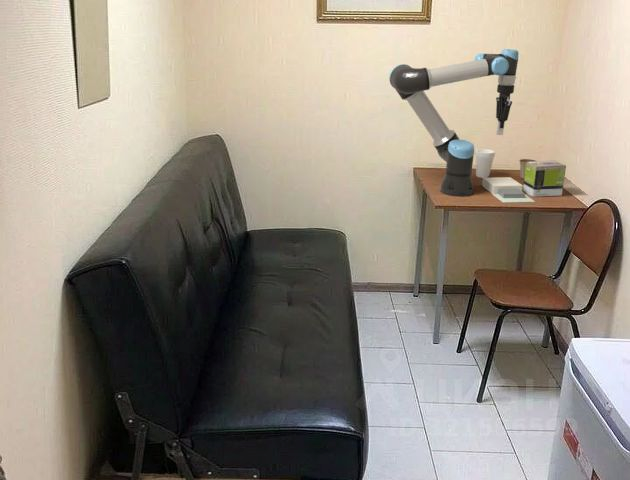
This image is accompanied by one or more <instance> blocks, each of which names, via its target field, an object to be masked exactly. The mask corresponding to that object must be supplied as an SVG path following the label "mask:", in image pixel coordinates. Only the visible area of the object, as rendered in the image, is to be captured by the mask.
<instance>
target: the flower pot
mask: <svg viewBox="0 0 630 480" xmlns="http://www.w3.org/2000/svg"><path fill="white" fill-rule="evenodd" d="M530 161H537V160H535V159H531V158H520V159H519V177H520V178H522V179H523V180H524V178H525V170H526V163H527V162H530Z"/></svg>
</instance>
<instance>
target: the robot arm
mask: <svg viewBox="0 0 630 480" xmlns="http://www.w3.org/2000/svg"><path fill="white" fill-rule="evenodd" d="M518 64H519V51H518V50H517V49H509V48H508V49H507V48H504V49H502V50H501V53H477V54H476V55H475V56H474V60H472V61H466V62H462V63H461V62H460V63H456V64H451V65H445V66H441V67H435V68H430V69H429V68H428V67H421V68H415V67H411V66H410V65H408V64H405V63H404V64H397V65H396V66H395V67H393V68H392V69H391V71H390V73H389V78H388V79H389V83H390V85H391V87H392V88H393V89H394V90H395V91H396V92H397V94H398V96H399V97H400V99H402V100H403V101H407V103H408V104H409V106H410V107H411V108H412V110H413V111H414V113H415V114H416V116H417V118H418V119H419V120H420V122H421V123H422V124H423V125H422V126H424V127H425V129H426V130H427V132H428V134H429V135H430V136H431V138H432V139H433V143H432V145H433V147H434V148H435V149H436V151H437V154H438V156H439V157H440V158H441V159H442V160H443V161H444V162H446V167H445V169H446V170H445V175H444V177H443V180H442V182H441V184H440V188H439V189H440V190H439V191H440V192H441V193H443V194H445V195H449V196H452V197H453V196H454V197H468V196H471V195H473V194H474V184H473V180H472V170H473V164H474V163H473V162H474V157H475V156H474V155H475V145H474V143H472V142H471V141H468V140H465V139H460V138H459V136H458V135H457V133H456V131H455V130H454V129H449V127H448V125H447V124H446V123H445V121H444V120H443V118H442V117H441V115H440V114H439V113H438V111H437V109H436V107H435V106H434V104H433V103H432V101H431V100H430V97H428V95H427V94H426V93H425V91H429V90H431V88H433V87H437V86H441V85H447V84H453V83H458V82H463V81H468V80H474V79H479V78H483V77H490V76H495V75H496V76H498V79H497V89H496V92H497V93H499V95H498V97H496V98H495V100H496V109H495V110H496V112H495V119H497V126H496V132H495V133H496V135H497V136H498V135H499V136H503V135H504V131H505V130H504V129H505V122H506V121H508V119H509V115H510V111H511V107H512V104H513V101H512V100H511V94H514V93H515V92H514V91H515V83H516V79H517V69H518V68H517V67H518Z"/></svg>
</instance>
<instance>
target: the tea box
mask: <svg viewBox="0 0 630 480" xmlns="http://www.w3.org/2000/svg"><path fill="white" fill-rule="evenodd" d="M566 169H567V165H565V164H563V163H561V162H558V161H557V160H536V161H530V162H527V163H526V170H525V178H524V179H523V184H522V185H523V188H522V192H523V193H525V194H526V195H529V197H530V196H531V198H532V197H533V198H534V197H553V196H554V197H555V196H558V197H559V196H562V195H563V190H564V189H563V188H564V184H565V176H566Z"/></svg>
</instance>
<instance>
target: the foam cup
mask: <svg viewBox="0 0 630 480" xmlns="http://www.w3.org/2000/svg"><path fill="white" fill-rule="evenodd" d="M474 155H475V175H476V177H478V178H482V179H483V178H490V177H489V176H490V175H491V174H490V173H491V170H492V166H493V162H494V159H495V155H496V151H495V150H493V149H488V148H477V149H476V150H475V153H474Z"/></svg>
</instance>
